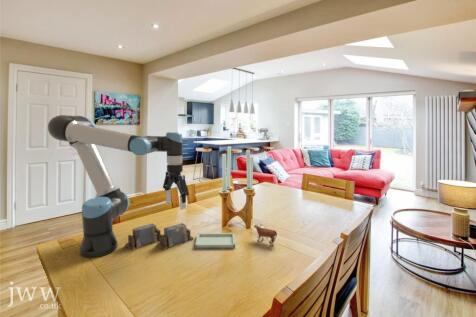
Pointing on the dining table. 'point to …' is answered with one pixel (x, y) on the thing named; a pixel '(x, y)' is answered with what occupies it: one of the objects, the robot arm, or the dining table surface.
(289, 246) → the dining table surface
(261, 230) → the bull figurine
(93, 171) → the robot arm
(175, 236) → the block
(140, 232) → the fuse
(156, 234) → the holder
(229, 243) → the tray
